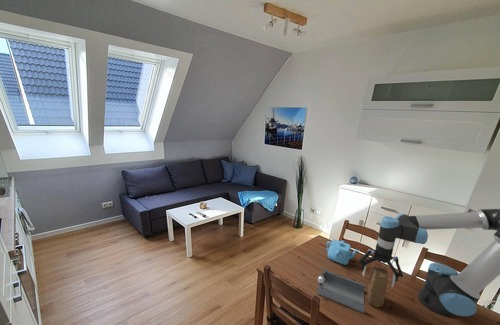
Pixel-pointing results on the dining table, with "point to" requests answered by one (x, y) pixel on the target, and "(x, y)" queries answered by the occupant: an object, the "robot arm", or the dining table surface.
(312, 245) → the dining table surface
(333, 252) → the teapot
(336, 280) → the dock
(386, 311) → the dining table surface
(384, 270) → the brown blocky piece
